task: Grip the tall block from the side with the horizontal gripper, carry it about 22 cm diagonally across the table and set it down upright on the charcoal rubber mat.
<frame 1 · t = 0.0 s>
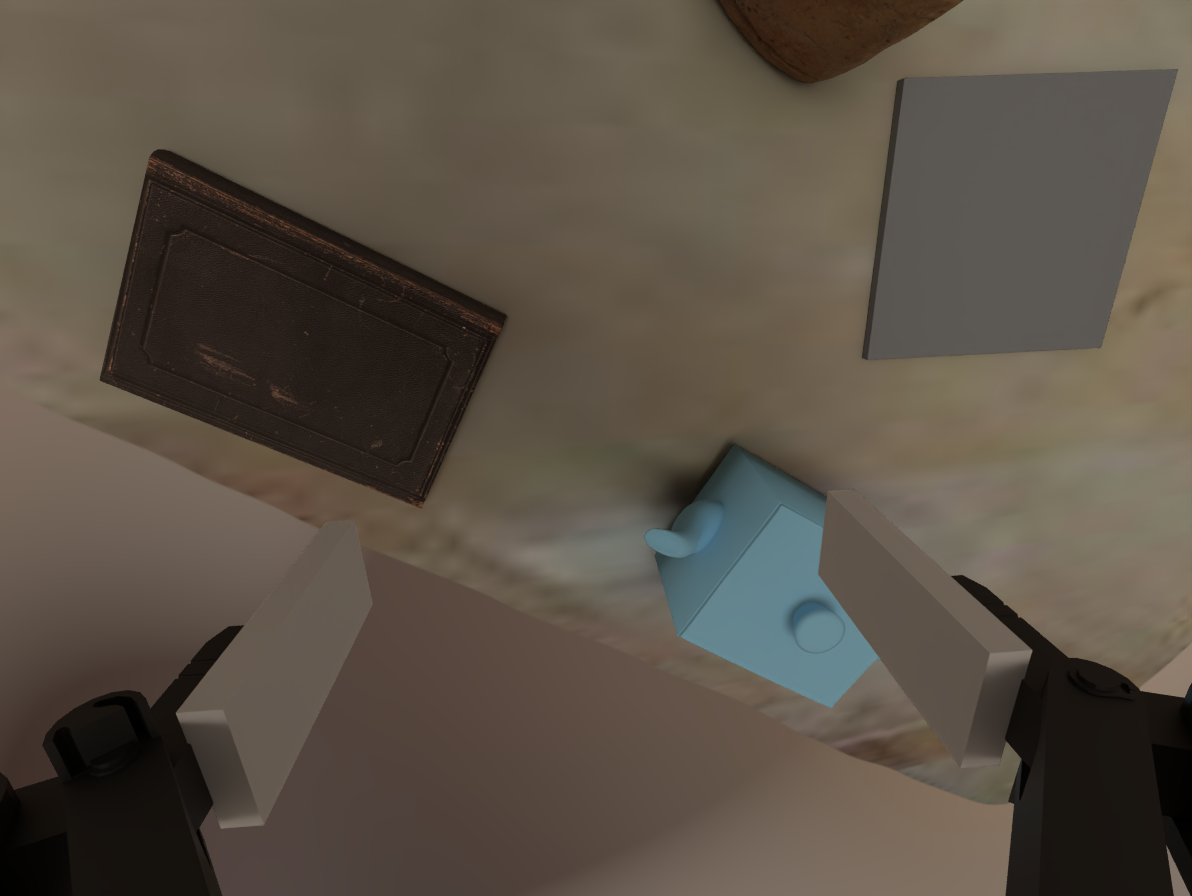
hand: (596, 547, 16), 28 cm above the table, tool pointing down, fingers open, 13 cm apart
hardcover book: (316, 342, 42), on the table
teapot: (735, 516, 48), on the table
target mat: (1003, 225, 41), on the table
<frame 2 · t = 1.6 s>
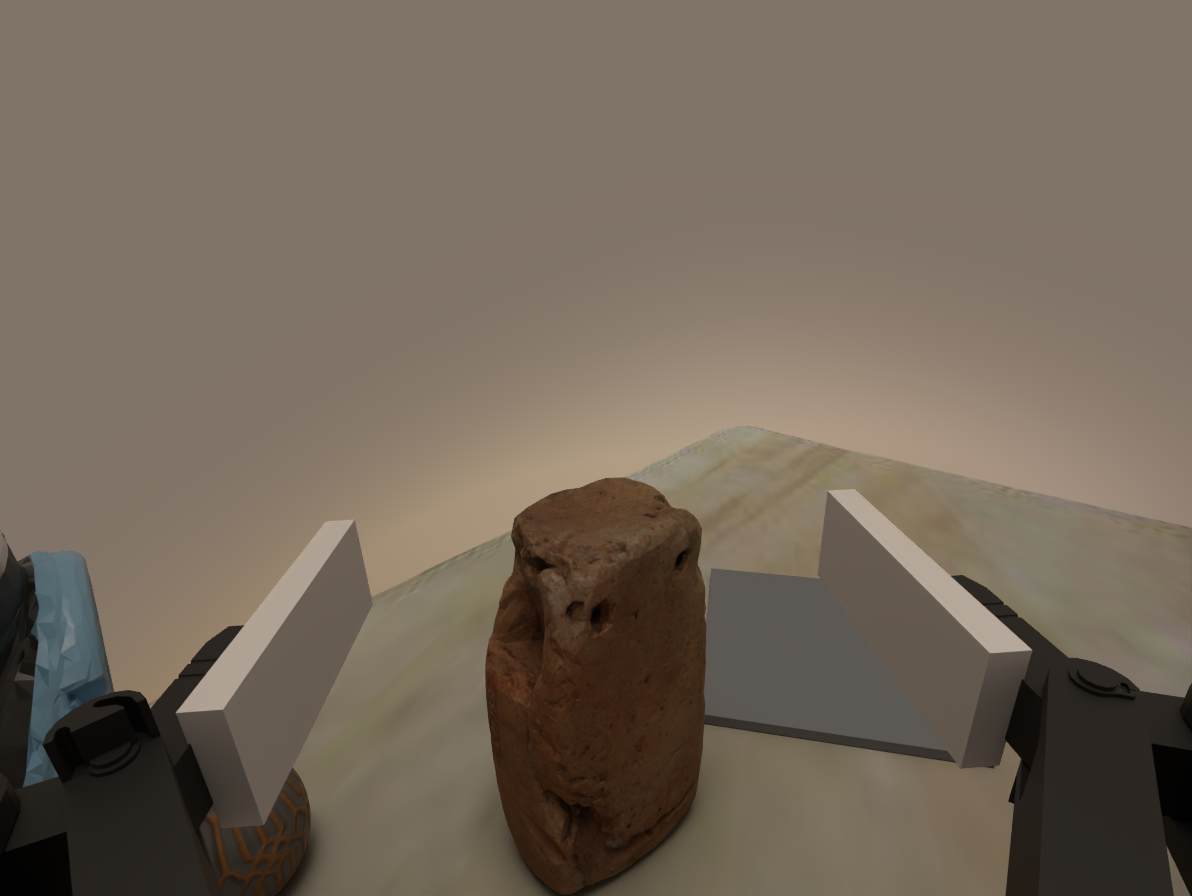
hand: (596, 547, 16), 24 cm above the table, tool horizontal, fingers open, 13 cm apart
block: (603, 820, 34), on the table
vase: (253, 878, 32), on the table
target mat: (821, 650, 46), on the table
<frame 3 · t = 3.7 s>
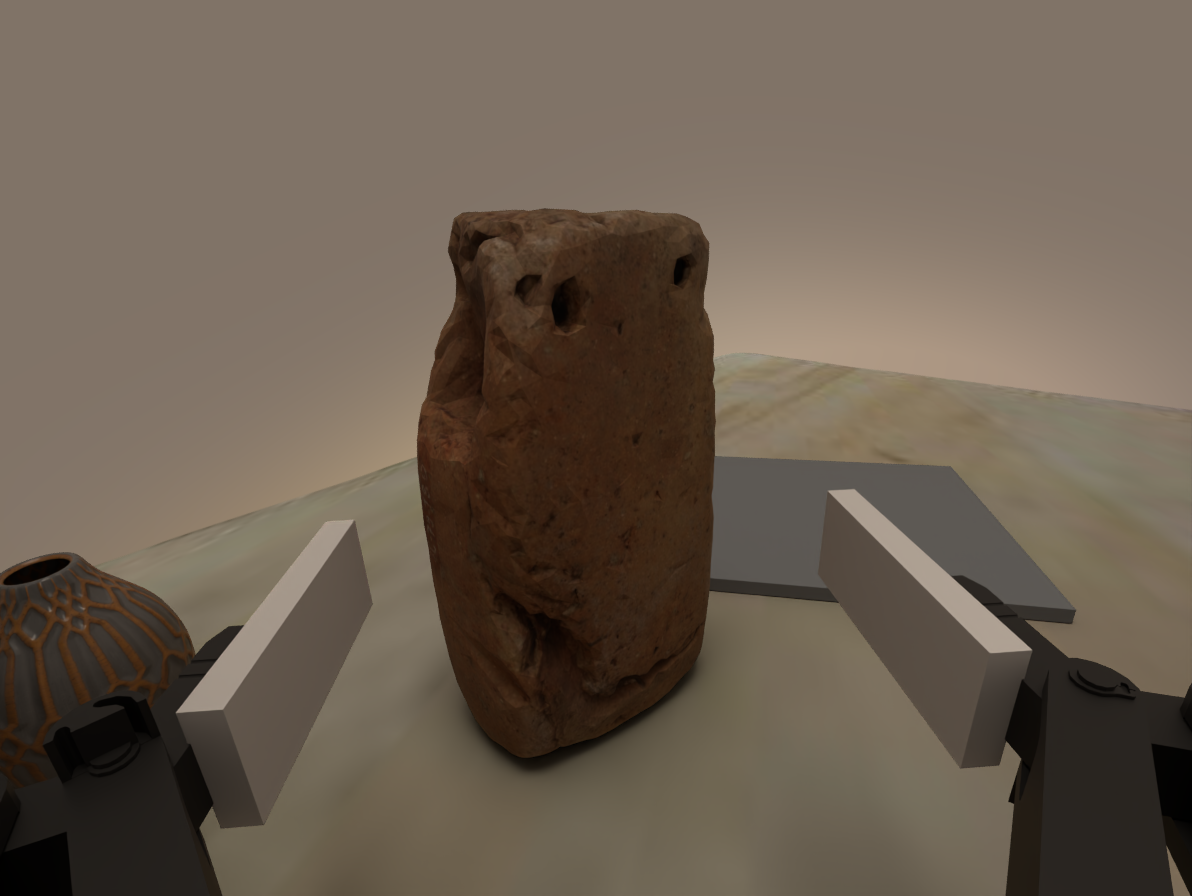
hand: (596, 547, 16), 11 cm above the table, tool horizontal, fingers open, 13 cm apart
block: (583, 686, 26), on the table
vase: (120, 754, 24), on the table
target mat: (845, 523, 39), on the table
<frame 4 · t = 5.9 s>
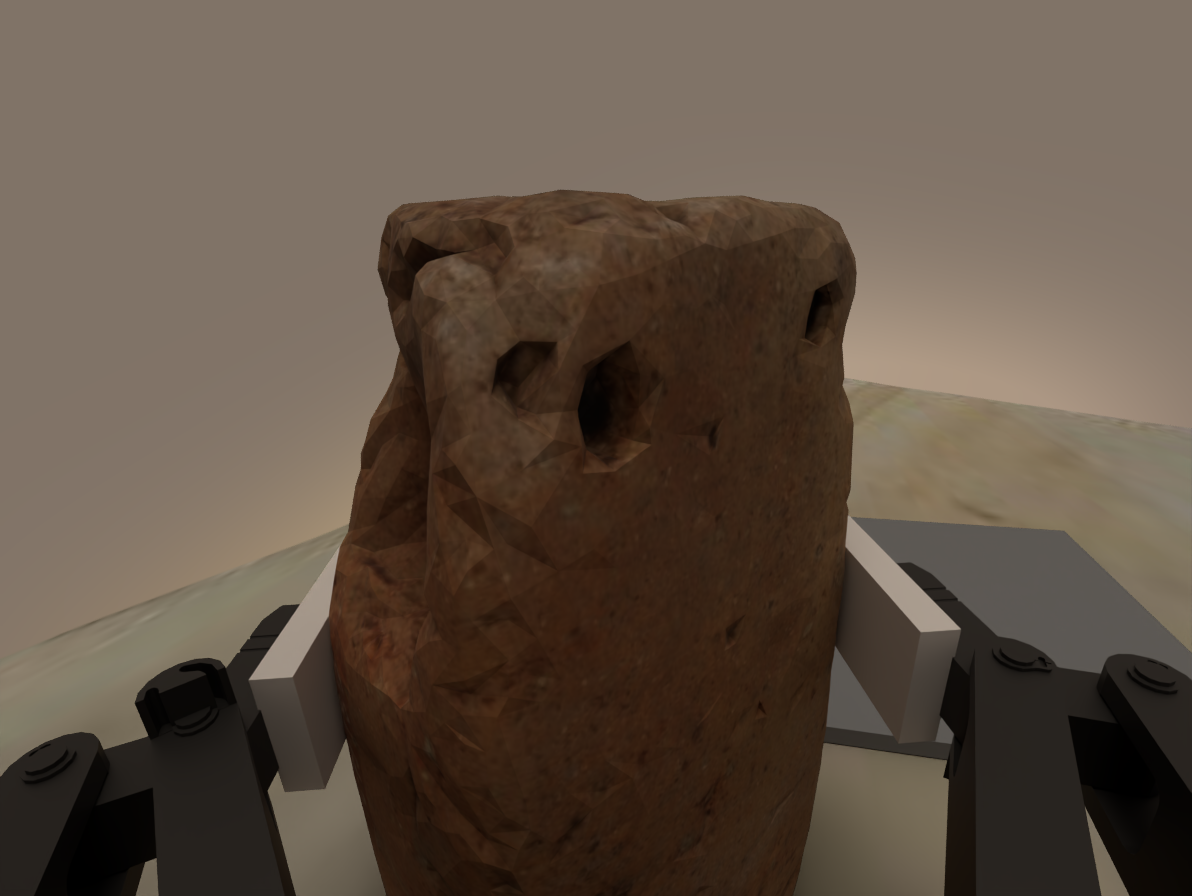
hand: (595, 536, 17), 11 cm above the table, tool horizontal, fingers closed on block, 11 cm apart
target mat: (947, 618, 30), on the table
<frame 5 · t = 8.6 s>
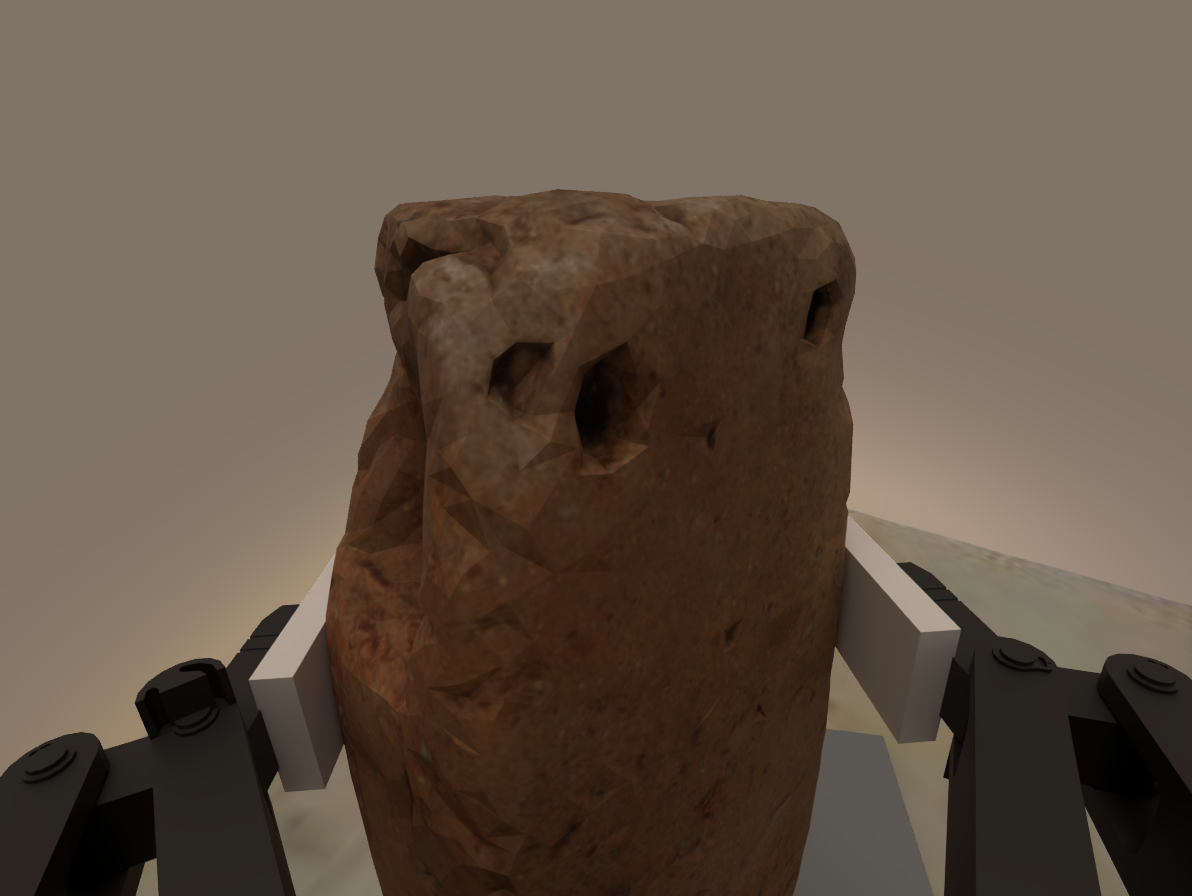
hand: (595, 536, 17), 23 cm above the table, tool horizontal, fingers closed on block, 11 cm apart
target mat: (739, 865, 30), on the table
when the fingers open (13 cm above the table, at t = 11.5 s): block drops 1 cm, resting on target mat.
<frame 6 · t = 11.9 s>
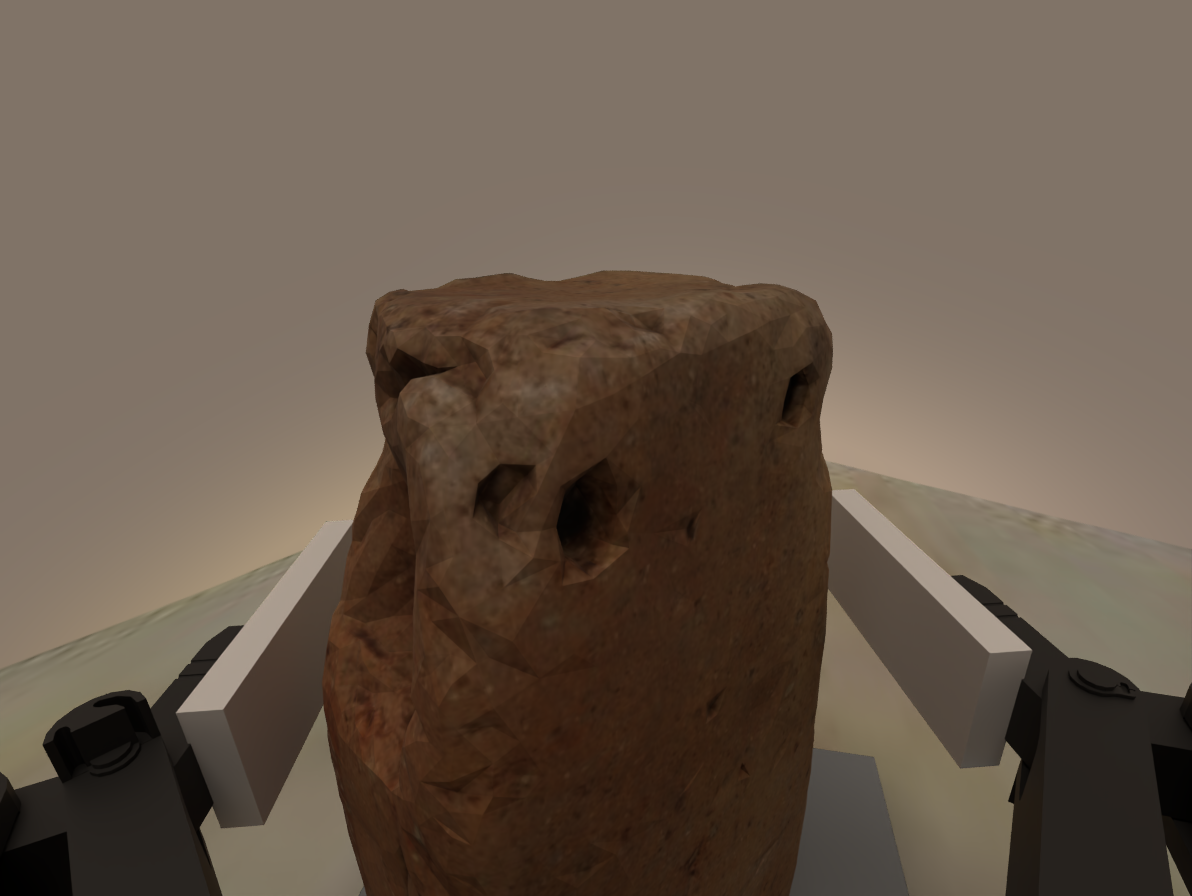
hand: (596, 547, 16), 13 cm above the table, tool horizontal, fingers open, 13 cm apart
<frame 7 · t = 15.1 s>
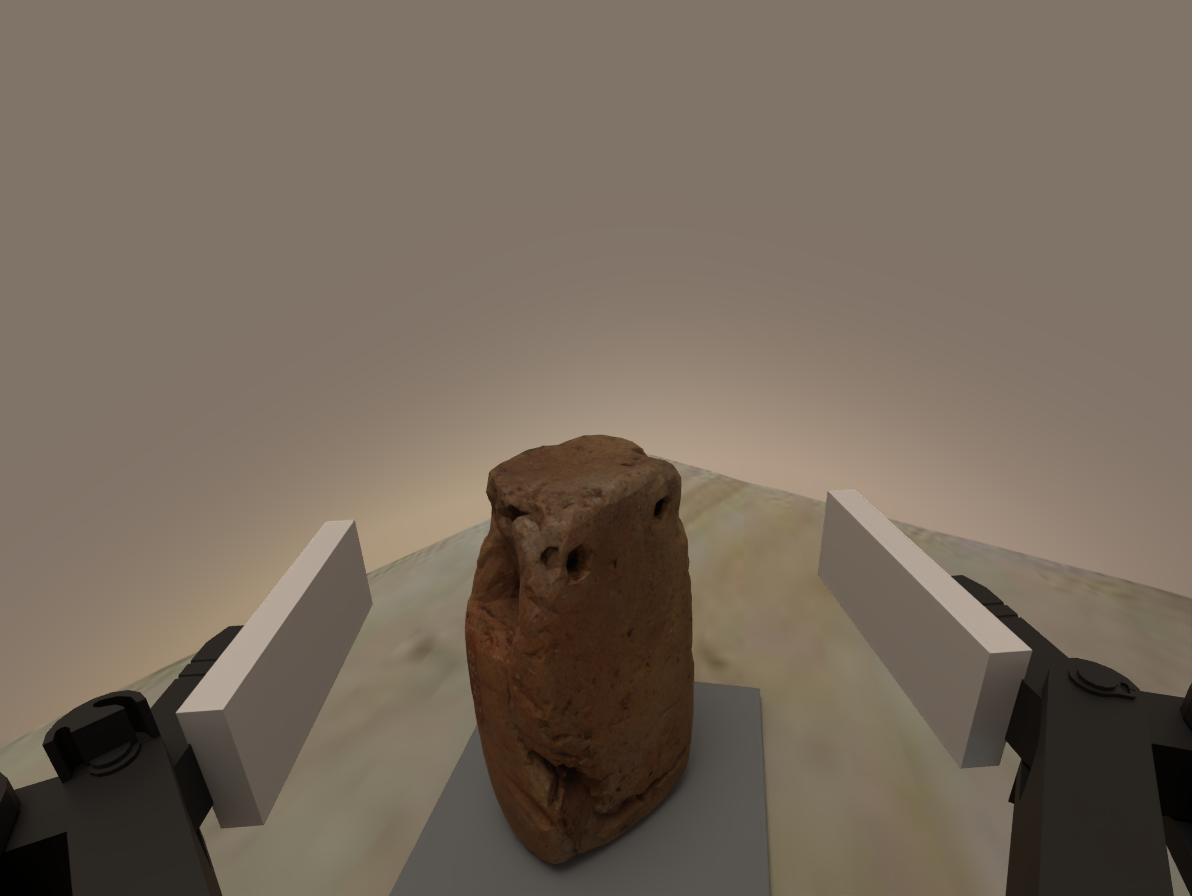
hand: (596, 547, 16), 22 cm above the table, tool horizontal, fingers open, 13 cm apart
block: (595, 791, 33), point 1 cm above the table, touching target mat
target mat: (602, 797, 33), on the table
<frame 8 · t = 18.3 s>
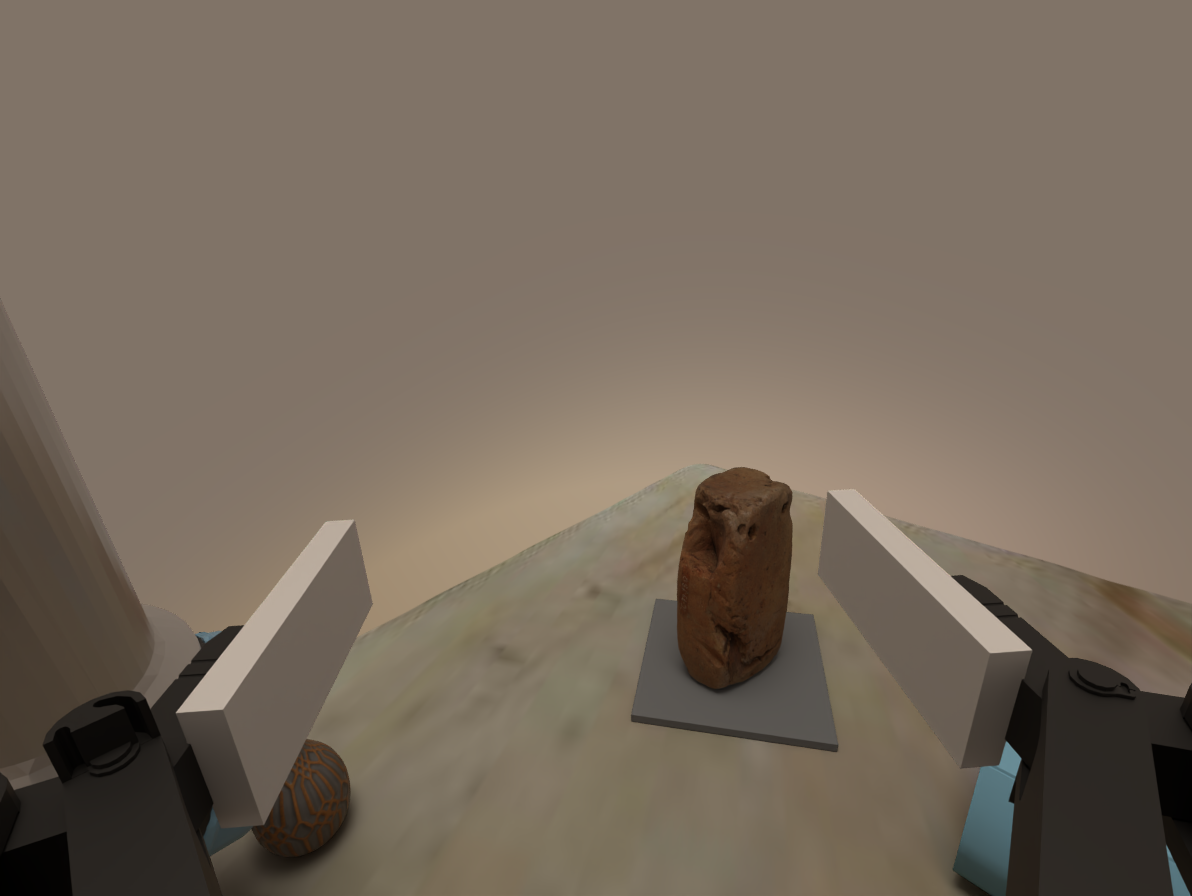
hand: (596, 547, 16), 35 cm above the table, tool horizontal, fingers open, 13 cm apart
block: (728, 662, 60), point 1 cm above the table, touching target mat
vase: (311, 830, 46), on the table
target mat: (731, 665, 60), on the table
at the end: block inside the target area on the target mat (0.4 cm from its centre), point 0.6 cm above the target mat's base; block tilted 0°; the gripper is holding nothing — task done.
